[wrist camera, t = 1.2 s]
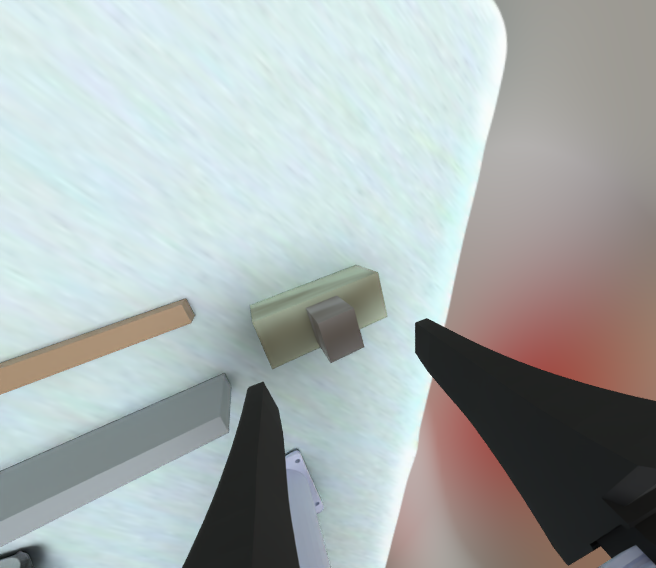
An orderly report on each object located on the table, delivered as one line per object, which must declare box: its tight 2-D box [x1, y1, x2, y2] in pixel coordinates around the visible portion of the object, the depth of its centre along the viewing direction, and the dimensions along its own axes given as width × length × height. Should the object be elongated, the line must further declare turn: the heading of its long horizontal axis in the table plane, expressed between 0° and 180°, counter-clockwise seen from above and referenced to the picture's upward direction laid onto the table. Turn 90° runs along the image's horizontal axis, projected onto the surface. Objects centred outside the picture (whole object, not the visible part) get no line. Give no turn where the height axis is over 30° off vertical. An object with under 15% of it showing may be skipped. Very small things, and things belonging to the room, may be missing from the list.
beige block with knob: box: [250, 265, 387, 369], centre depth 19 cm, size 4×10×7 cm, turn 106°
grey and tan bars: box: [0, 299, 231, 547], centre depth 15 cm, size 9×18×5 cm, turn 106°
